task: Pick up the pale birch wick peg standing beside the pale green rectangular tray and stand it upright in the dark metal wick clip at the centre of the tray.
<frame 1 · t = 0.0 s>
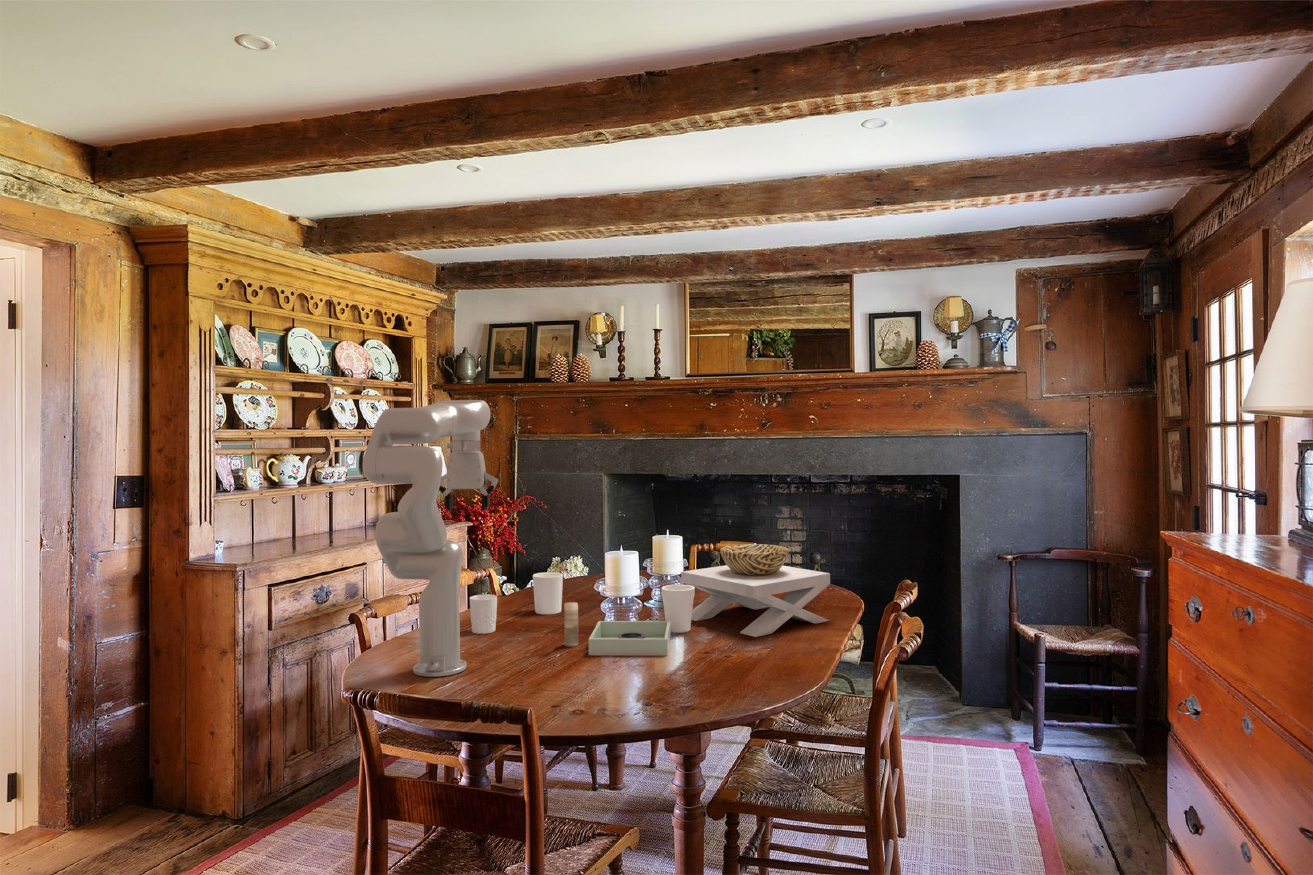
hand: (467, 510, 218), 37 cm above the table, tool pointing down, fingers open, 9 cm apart
white cup: (483, 631, 233), on the table
candle holder: (548, 612, 258), on the table
foam cup: (678, 633, 228), on the table
wick clip: (631, 644, 212), resting on pale green rectangular tray
wick peg: (571, 648, 213), on the table
grey stool with basket: (755, 620, 245), on the table
pale green rectangular tray: (631, 648, 212), on the table
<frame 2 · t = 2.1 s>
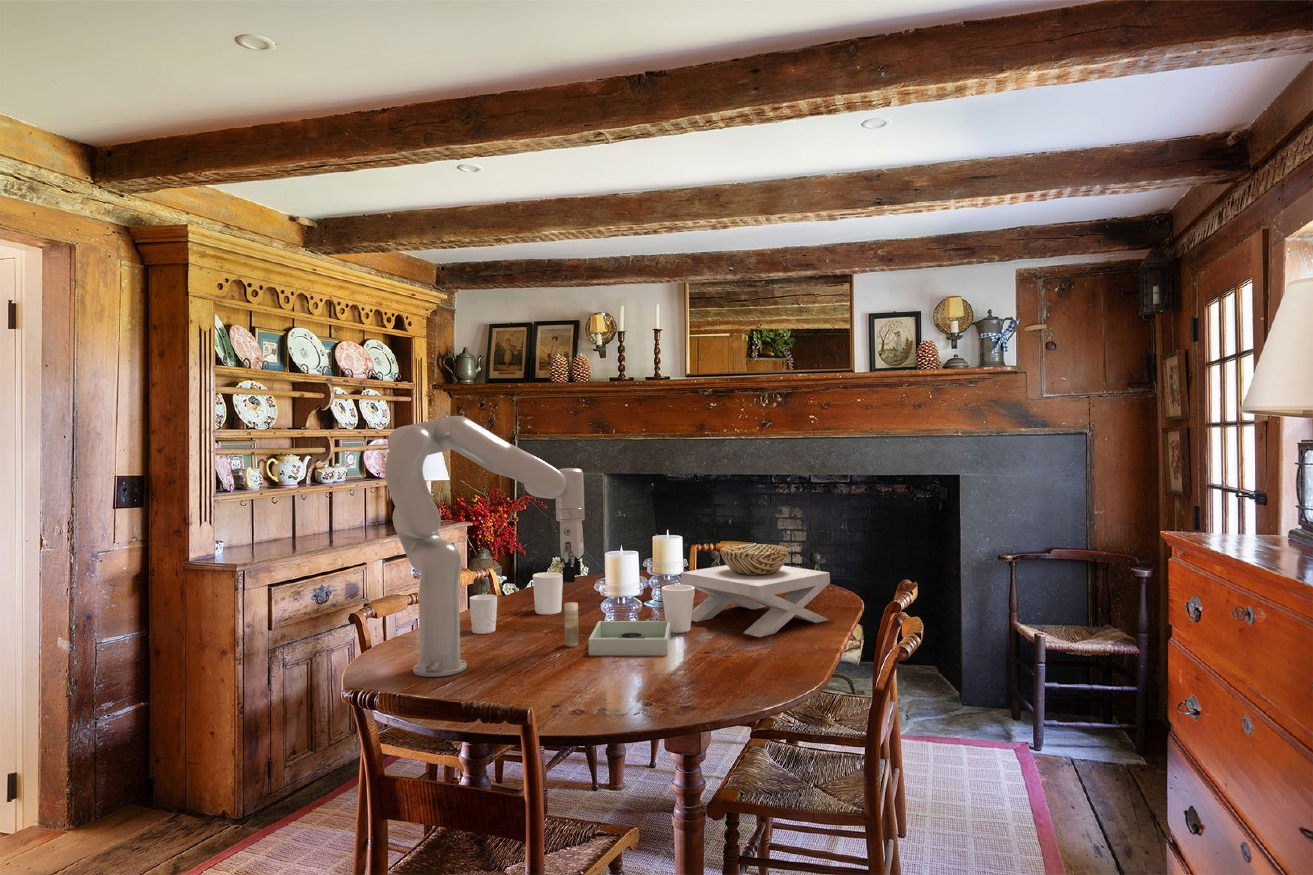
hand: (572, 578, 213), 19 cm above the table, tool pointing down, fingers open, 9 cm apart
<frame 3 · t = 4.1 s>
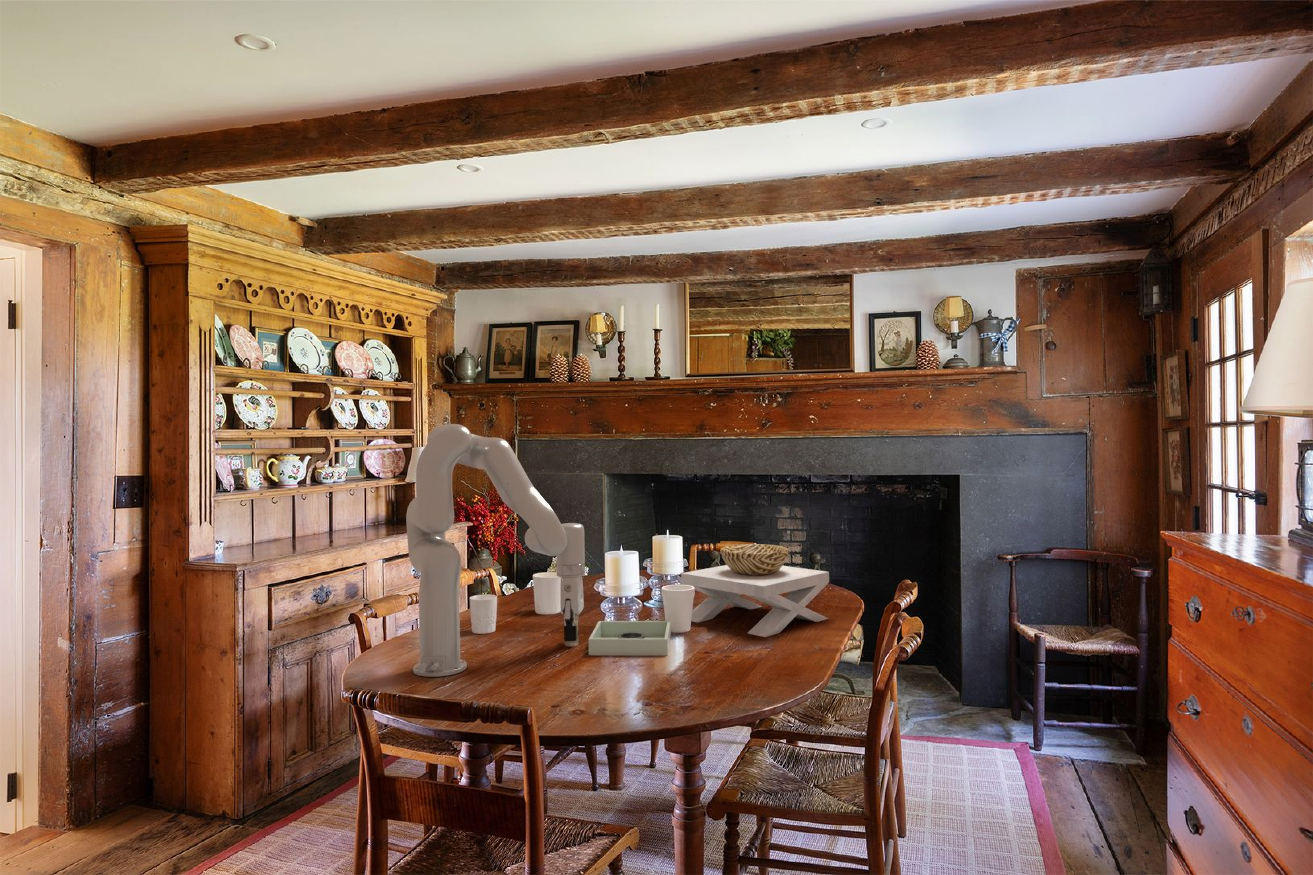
hand: (571, 638, 213), 3 cm above the table, tool pointing down, fingers closed on wick peg, 3 cm apart
wick peg: (571, 648, 213), on the table, touching gripper
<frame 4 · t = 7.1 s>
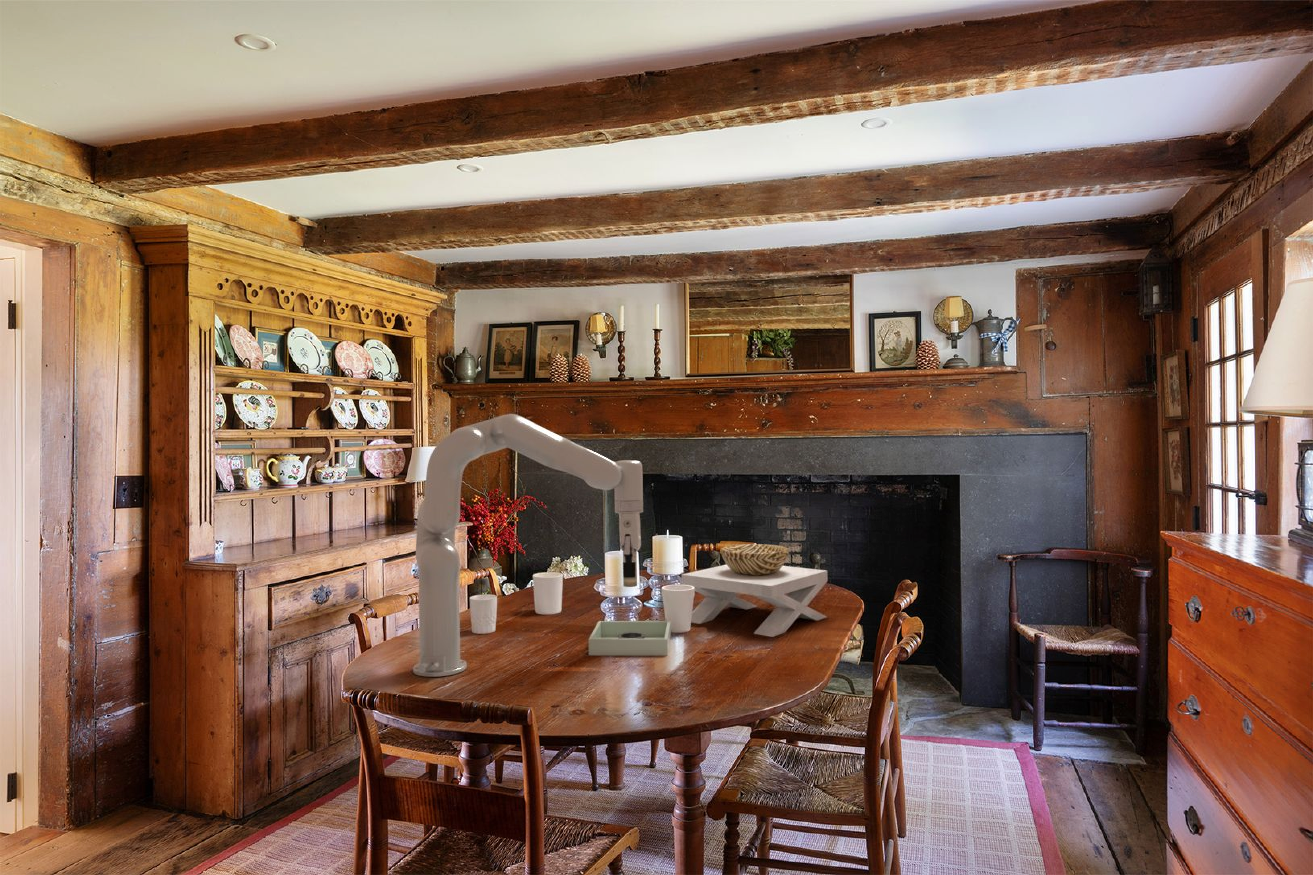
hand: (630, 575, 212), 19 cm above the table, tool pointing down, fingers closed on wick peg, 3 cm apart
wick peg: (630, 585, 212), point 17 cm above the table, touching gripper
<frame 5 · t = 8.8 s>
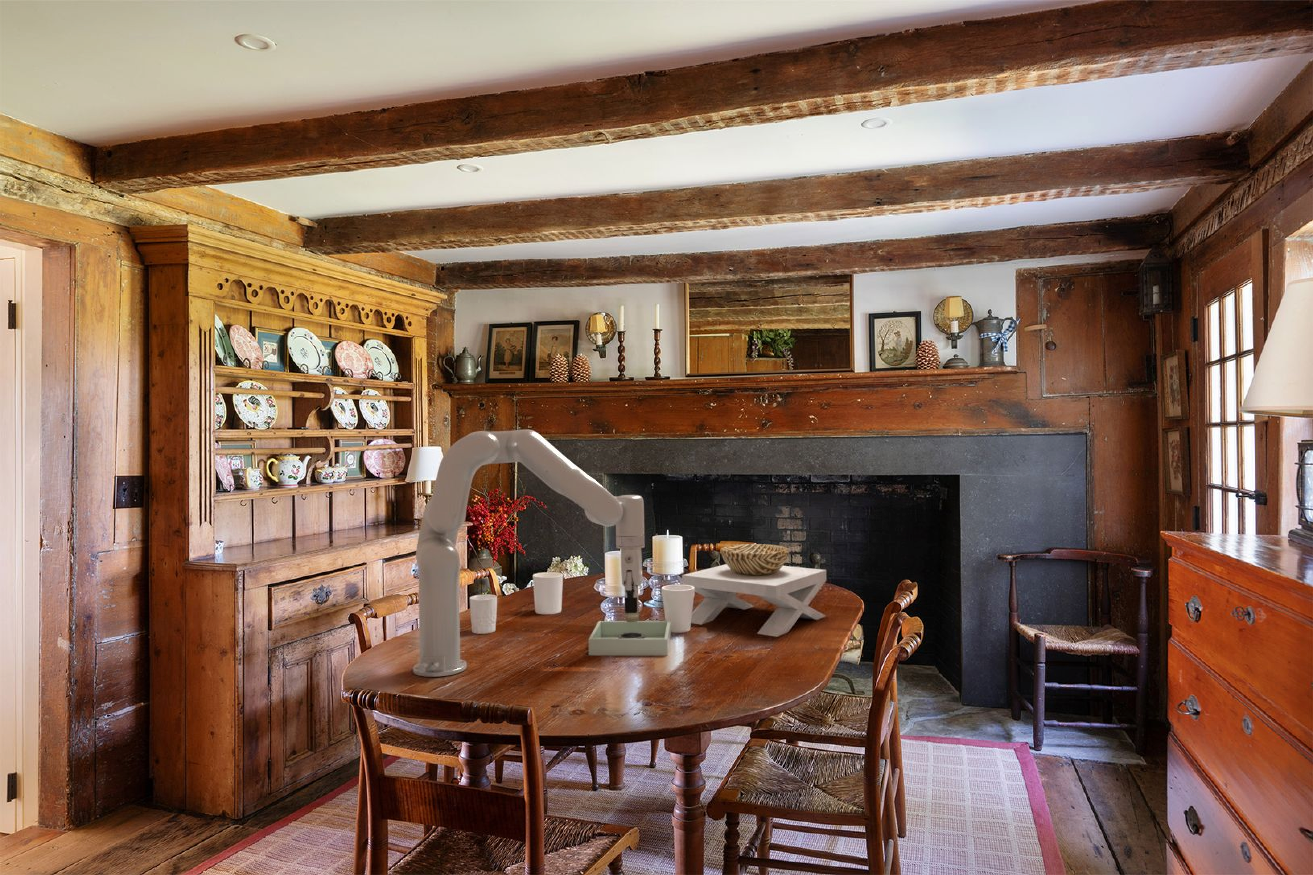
hand: (631, 610, 212), 10 cm above the table, tool pointing down, fingers closed on wick peg, 3 cm apart
wick peg: (632, 620, 212), point 7 cm above the table, touching gripper
when the fingers open (5 cm above the table, at t = 10.1 s): wick peg drops 1 cm, resting on pale green rectangular tray.
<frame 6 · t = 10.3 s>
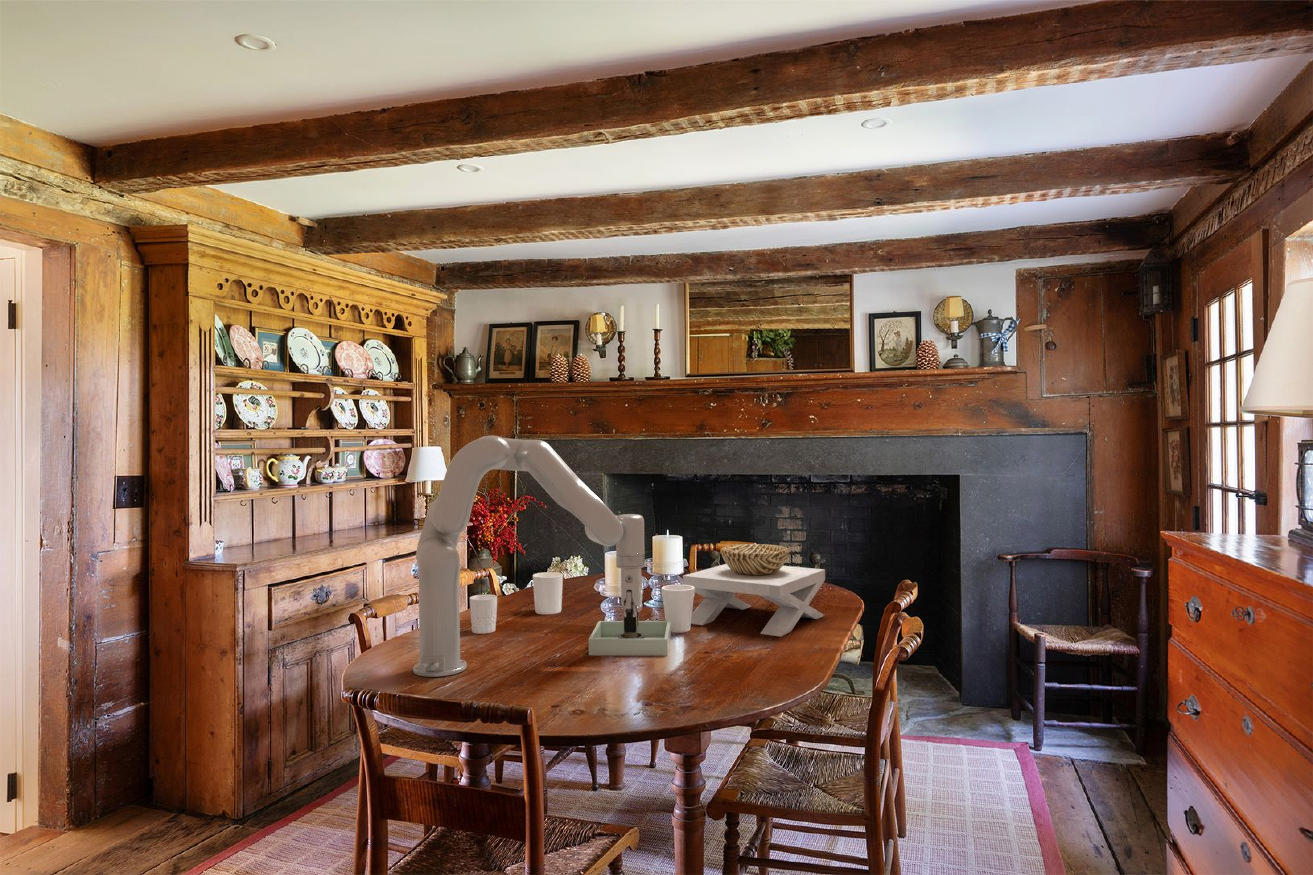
hand: (631, 628, 212), 5 cm above the table, tool pointing down, fingers open, 5 cm apart
wick peg: (631, 644, 212), point 1 cm above the table, touching pale green rectangular tray
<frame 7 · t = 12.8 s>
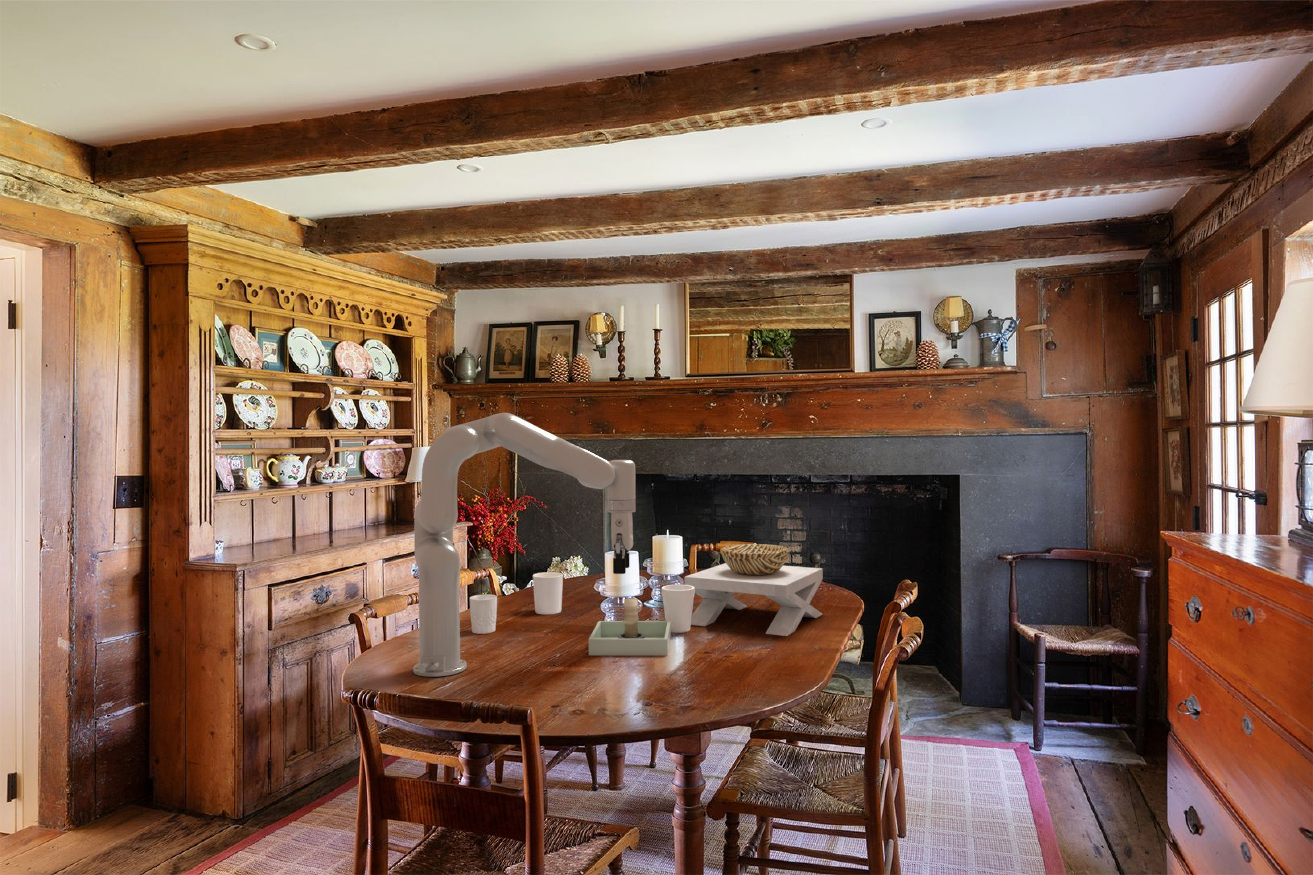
hand: (621, 570, 212), 21 cm above the table, tool pointing down, fingers open, 9 cm apart
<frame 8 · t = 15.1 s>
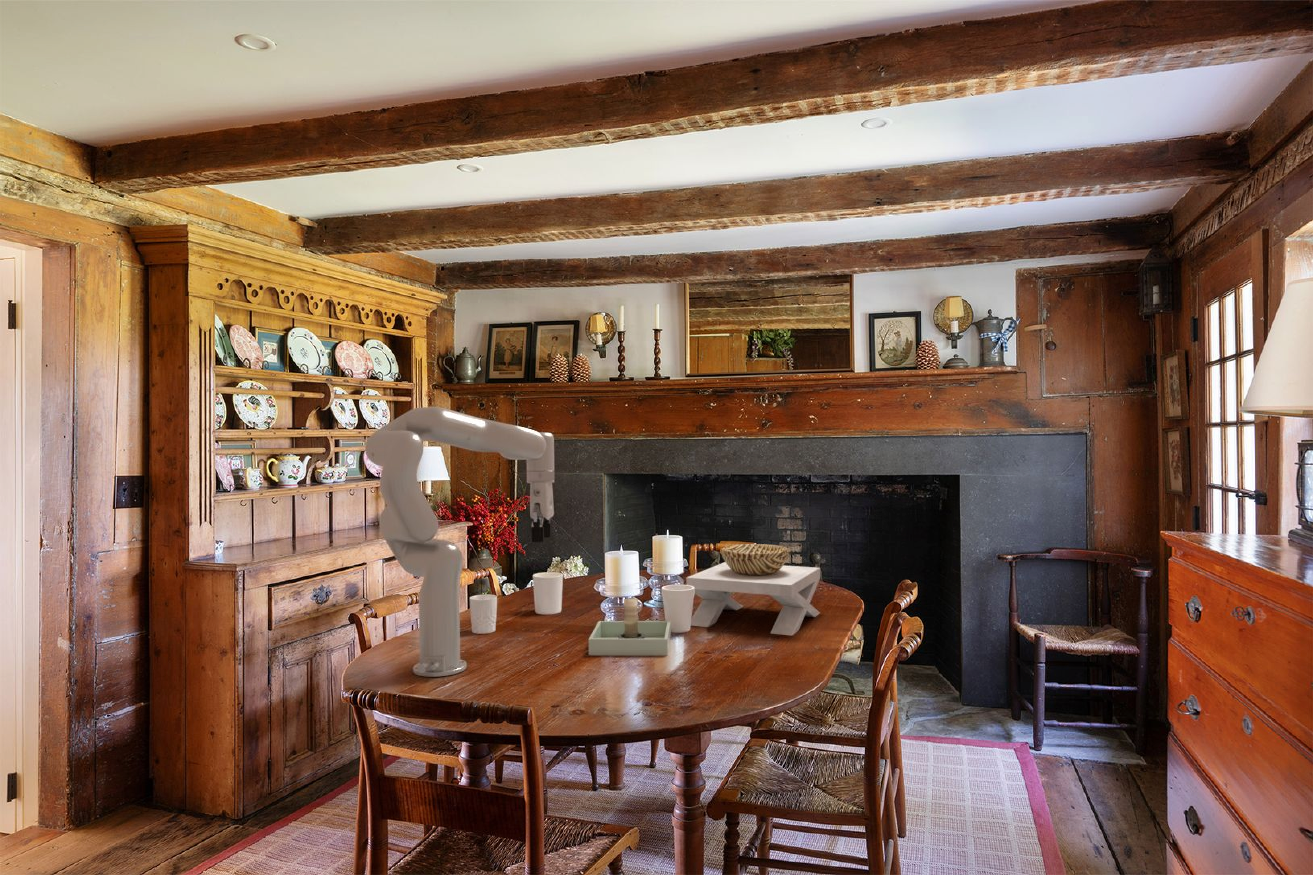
hand: (541, 539, 219), 28 cm above the table, tool pointing down, fingers open, 9 cm apart
at the end: wick peg 0.0 cm off-centre on the wick clip, point 0.0 cm above the wick clip's base; wick peg tilted 0°; the gripper is holding nothing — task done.
